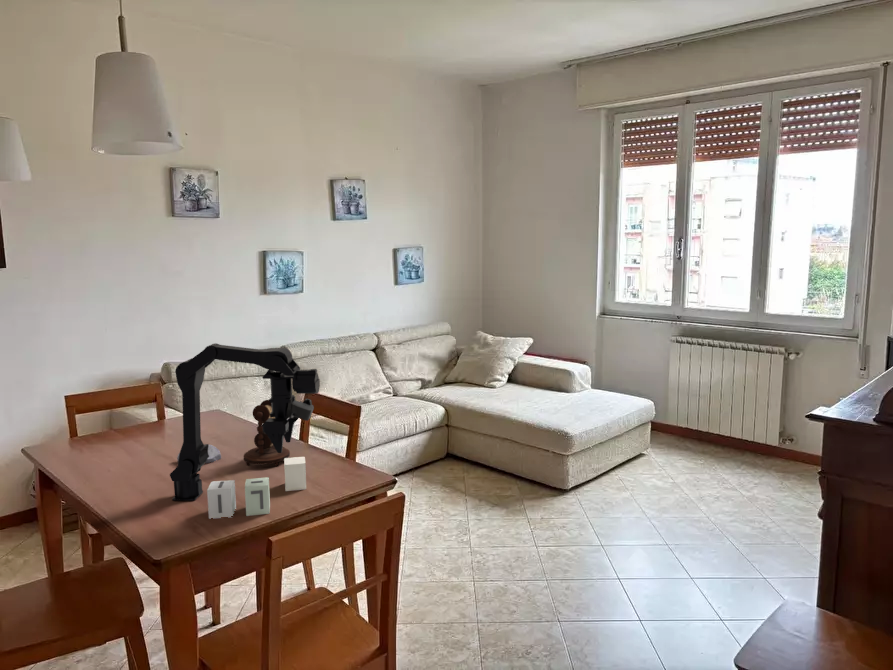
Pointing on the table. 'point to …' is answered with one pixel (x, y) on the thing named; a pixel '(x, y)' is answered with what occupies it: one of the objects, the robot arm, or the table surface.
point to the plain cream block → (295, 473)
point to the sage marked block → (257, 496)
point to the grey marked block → (221, 499)
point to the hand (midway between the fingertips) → (284, 447)
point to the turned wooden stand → (264, 440)
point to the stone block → (211, 454)
